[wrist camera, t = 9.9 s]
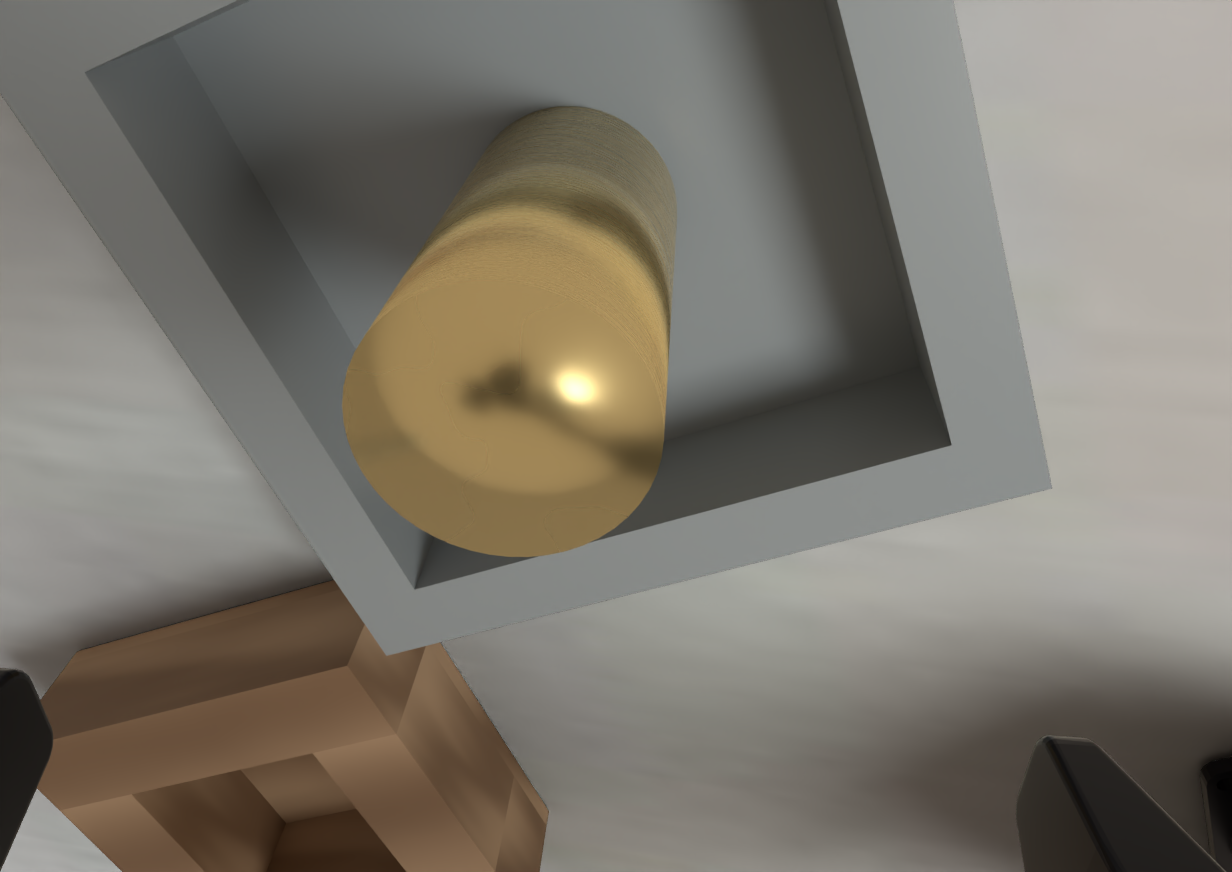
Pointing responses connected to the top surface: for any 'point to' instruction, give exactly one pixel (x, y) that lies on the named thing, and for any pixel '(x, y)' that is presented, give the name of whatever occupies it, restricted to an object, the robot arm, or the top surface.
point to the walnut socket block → (284, 750)
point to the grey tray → (703, 268)
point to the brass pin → (527, 345)
